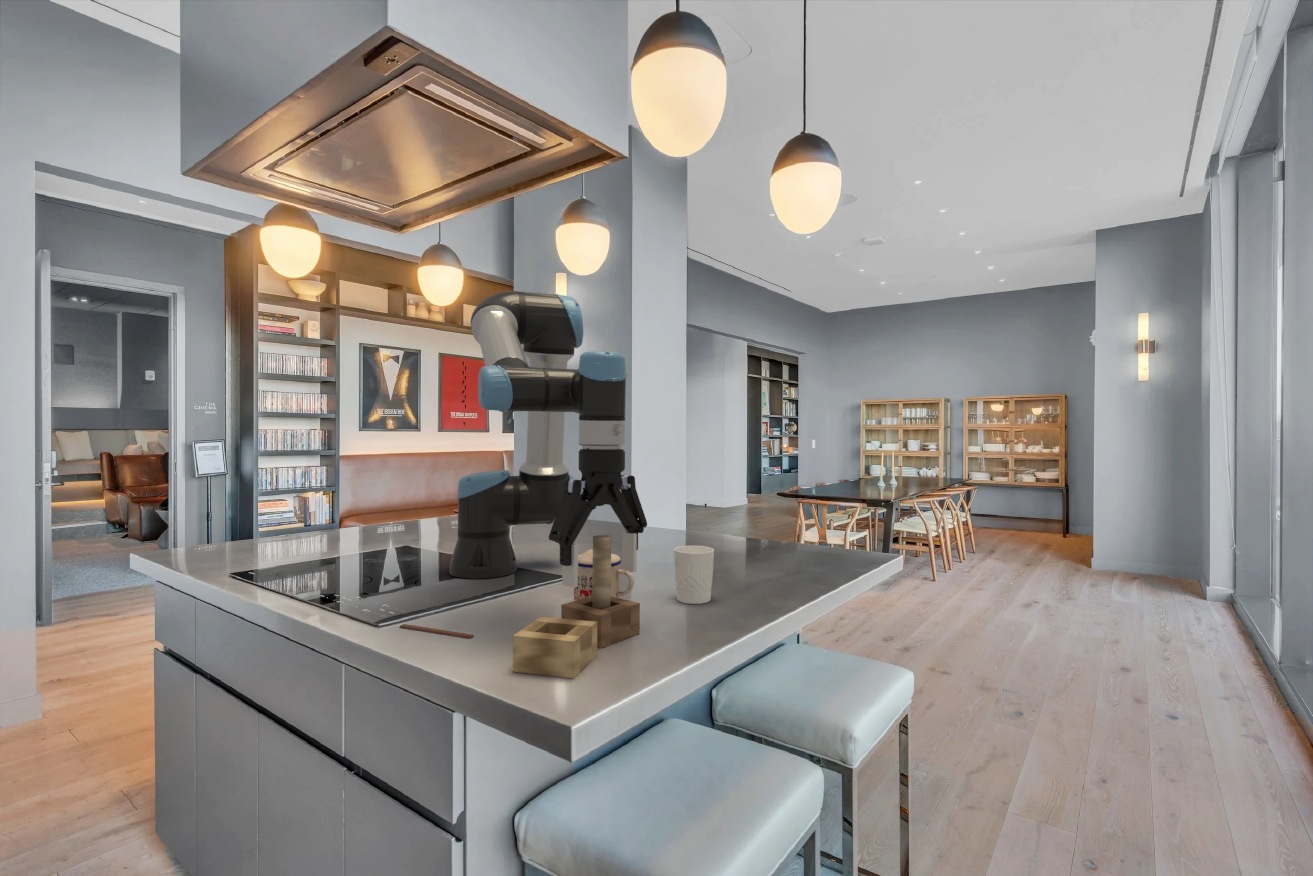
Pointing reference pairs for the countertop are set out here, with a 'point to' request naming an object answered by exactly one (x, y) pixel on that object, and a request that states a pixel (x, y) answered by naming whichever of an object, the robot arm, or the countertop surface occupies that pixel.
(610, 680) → the countertop surface
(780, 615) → the countertop surface
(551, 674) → the light wooden square frame
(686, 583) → the white cup
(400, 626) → the brown wooden stick
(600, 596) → the beige wooden dowel
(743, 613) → the countertop surface
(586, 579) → the teacup with lid
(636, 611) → the bead dark
